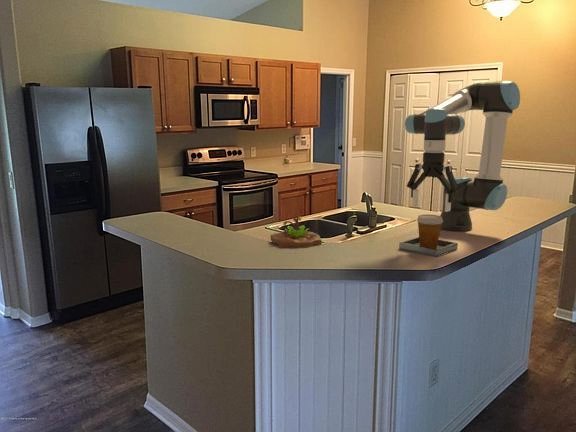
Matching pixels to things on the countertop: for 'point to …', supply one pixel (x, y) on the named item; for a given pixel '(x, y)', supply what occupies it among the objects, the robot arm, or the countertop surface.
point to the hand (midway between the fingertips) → (430, 208)
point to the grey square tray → (441, 248)
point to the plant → (296, 236)
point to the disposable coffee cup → (429, 230)
